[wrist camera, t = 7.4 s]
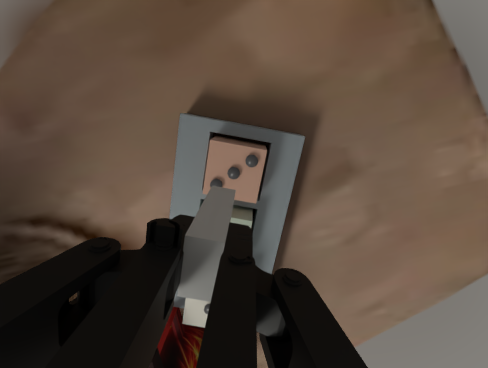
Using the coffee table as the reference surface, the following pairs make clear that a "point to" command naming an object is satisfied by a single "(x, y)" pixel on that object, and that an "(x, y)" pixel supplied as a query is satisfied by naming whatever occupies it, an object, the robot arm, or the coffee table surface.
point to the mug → (178, 344)
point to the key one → (195, 312)
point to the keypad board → (267, 206)
